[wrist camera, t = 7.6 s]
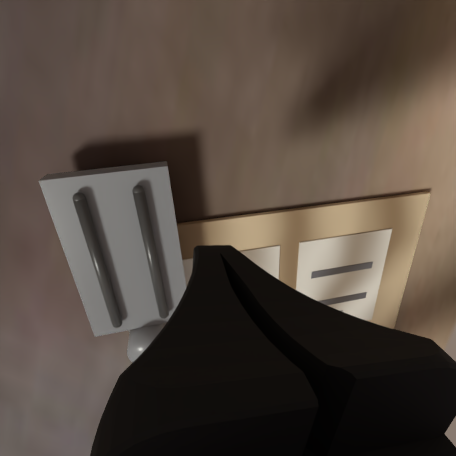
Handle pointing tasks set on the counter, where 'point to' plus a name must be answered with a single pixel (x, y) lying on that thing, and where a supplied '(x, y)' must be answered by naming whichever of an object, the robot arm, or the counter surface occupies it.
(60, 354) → the counter surface
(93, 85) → the counter surface
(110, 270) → the grey slotted block
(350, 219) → the label board
